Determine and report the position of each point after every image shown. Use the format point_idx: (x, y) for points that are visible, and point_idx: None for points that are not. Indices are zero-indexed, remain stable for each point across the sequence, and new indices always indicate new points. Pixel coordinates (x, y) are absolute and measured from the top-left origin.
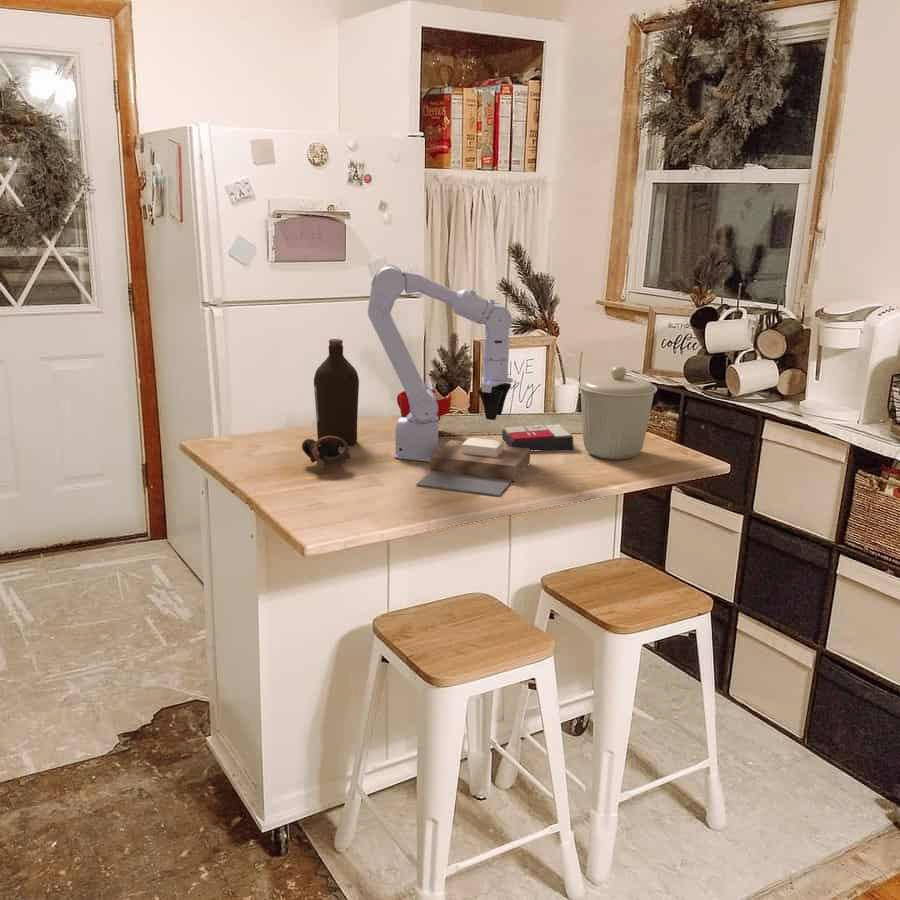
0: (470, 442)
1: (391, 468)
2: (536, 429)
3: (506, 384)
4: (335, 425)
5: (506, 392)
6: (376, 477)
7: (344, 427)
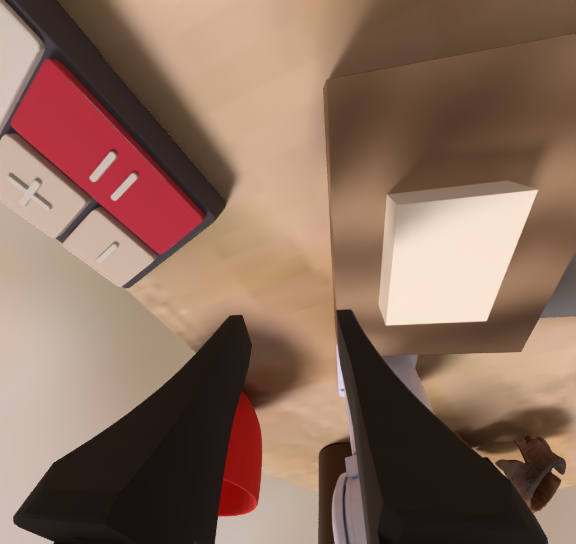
0: (453, 306)
1: (476, 379)
2: (48, 183)
3: (88, 535)
4: None
5: (167, 432)
6: (547, 382)
7: None
